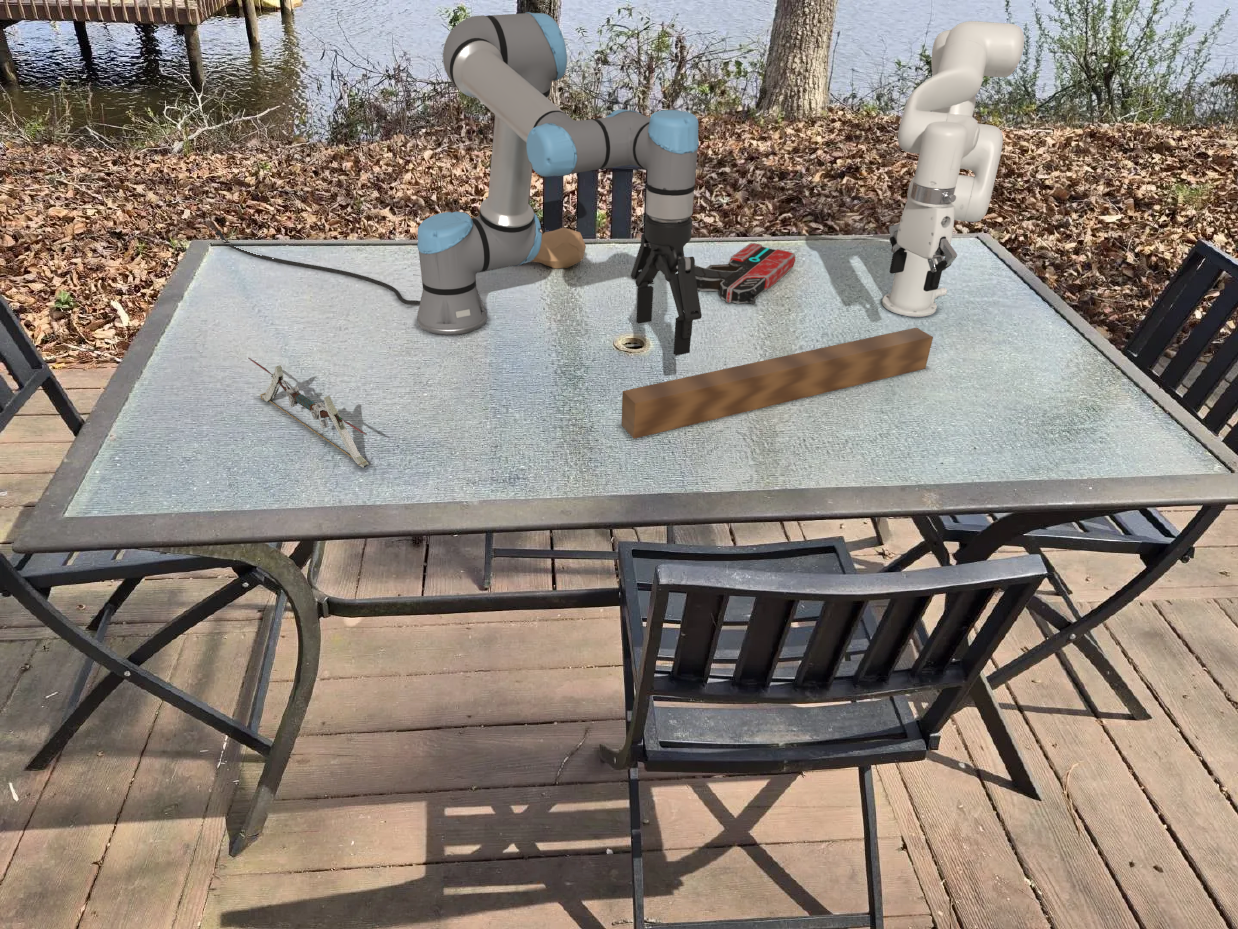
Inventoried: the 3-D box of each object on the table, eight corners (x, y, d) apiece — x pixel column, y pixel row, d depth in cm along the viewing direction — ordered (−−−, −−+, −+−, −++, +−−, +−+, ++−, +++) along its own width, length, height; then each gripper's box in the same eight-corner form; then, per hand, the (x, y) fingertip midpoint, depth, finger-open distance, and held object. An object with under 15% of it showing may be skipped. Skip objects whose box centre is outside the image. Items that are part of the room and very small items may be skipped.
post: (633, 438, 158) (635, 403, 154) (621, 425, 161) (622, 390, 157) (925, 368, 184) (933, 336, 180) (909, 358, 187) (916, 327, 183)
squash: (587, 272, 224) (582, 240, 218) (510, 279, 226) (503, 248, 219) (588, 250, 232) (584, 219, 226) (514, 257, 233) (507, 226, 227)
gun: (678, 273, 212) (751, 292, 205) (732, 235, 234) (800, 251, 226) (676, 290, 215) (749, 310, 207) (730, 251, 237) (797, 268, 229)
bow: (378, 470, 147) (371, 419, 141) (369, 475, 146) (361, 423, 140) (261, 391, 168) (250, 343, 163) (252, 394, 167) (241, 347, 162)
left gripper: (730, 237, 132) (718, 363, 144) (653, 191, 150) (647, 306, 162) (687, 243, 129) (678, 372, 141) (613, 196, 148) (611, 313, 159)
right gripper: (982, 204, 157) (959, 294, 167) (915, 178, 170) (897, 263, 180) (950, 209, 155) (929, 300, 164) (885, 183, 167) (869, 268, 177)
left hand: (662, 337), depth 152 cm, fingers open, 13 cm apart
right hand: (912, 280), depth 172 cm, fingers open, 9 cm apart
